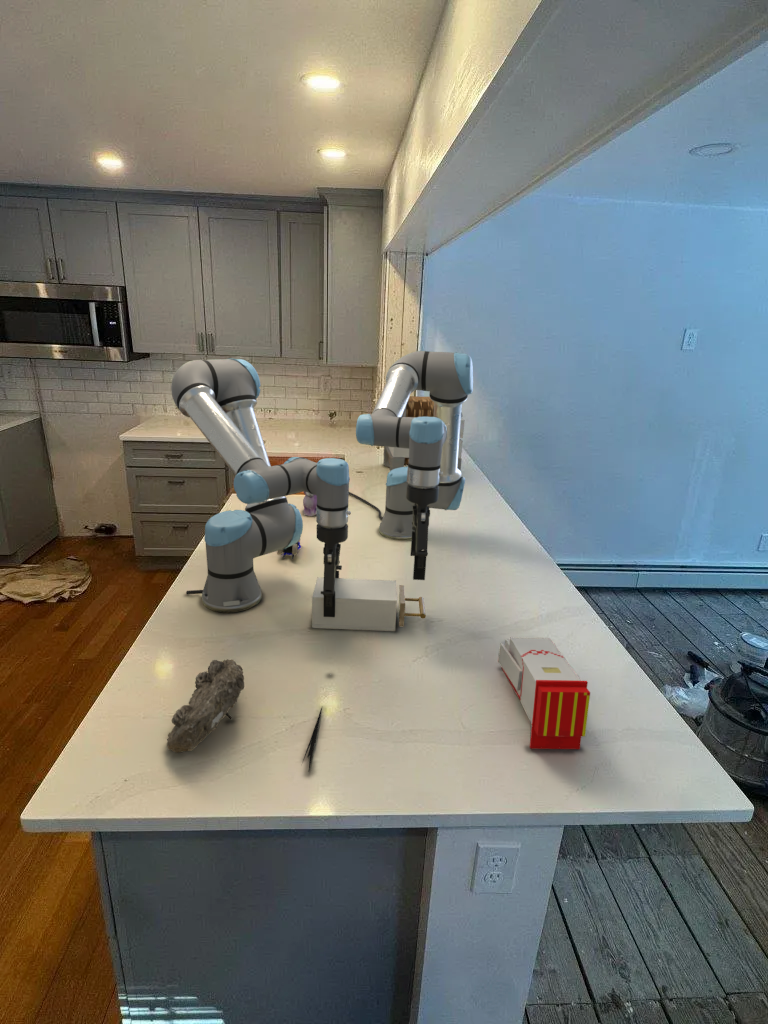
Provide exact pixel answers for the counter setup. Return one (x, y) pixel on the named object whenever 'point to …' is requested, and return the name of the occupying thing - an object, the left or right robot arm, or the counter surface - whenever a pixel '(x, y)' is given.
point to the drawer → (402, 606)
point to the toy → (546, 691)
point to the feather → (313, 740)
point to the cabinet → (357, 605)
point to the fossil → (206, 705)
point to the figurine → (309, 504)
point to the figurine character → (290, 550)
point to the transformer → (412, 410)
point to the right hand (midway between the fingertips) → (417, 567)
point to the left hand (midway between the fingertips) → (331, 604)
